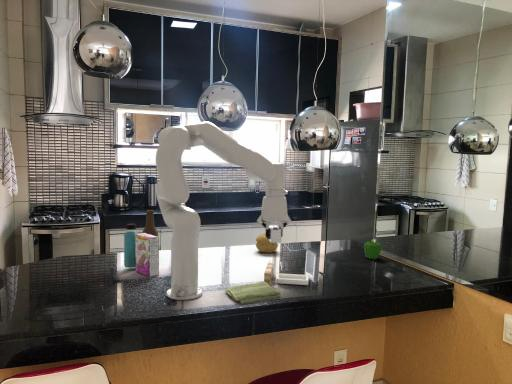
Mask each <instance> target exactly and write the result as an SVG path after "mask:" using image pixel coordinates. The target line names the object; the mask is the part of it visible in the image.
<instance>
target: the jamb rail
mask: <svg viewBox="0 0 512 384" xmlns="http://www.w3.org/2000/svg"><path fill="white" fill-rule="evenodd" d="M266 264H267V265H266V267H265V270H264V273H263V275H264V276H263V281H264V282H267V283H268V284H269V285H270V286H271V284H272V280H273V278H274V277H273V276H274V266H275V265H274V264H275V263H274V262H268V263H266Z"/></svg>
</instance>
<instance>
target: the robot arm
mask: <svg viewBox="0 0 512 384" xmlns="http://www.w3.org/2000/svg"><path fill="white" fill-rule="evenodd" d="M157 143H158V148H157V149H156V153H155V165H156V170H157V174H158V178H159V181H158V182H157V184H156V187H155V195H156V199H157V203H158V206H159V209H160V212H161V215H162V218H163V221H164V224H165V225H166V226H167V227H168V228H169V229H171V230H172V236H171V237H172V238H171V243H170V253H171V254H170V255H171V256H170V257H171V258H170V262H171V263H170V265H171V266H170V268H171V269H170V273H171V274H170V278H171V279H170V288H169V289H168V290H166V297H167V298H168V299H169V298H170V299H172V300H176V301H186V300H187V301H189V300H194V299H197V298H200V297H201V296H202V295H203V289H202V288H200V287H199V238H200V231H201V217H200V216H199V213H198V212H197V211H196V210H195V209H193V208H190V207H188V206H186V203H187V201H188V200H189V198H190V189H189V185H188V182H187V179H186V175H185V172H184V168H183V165H182V164H183V163H182V158H183V157H182V156H183V153H184V151H185V149H189V148H192V147H193V148H194V147H197V146H198V147H199V146H203V147H204V148H206V149H208V150H209V151H210V152H212V153H213V154H215V155H216V156H217V157H218V158H221V159H222V160H223V161H225V162H226V163H229V164H231V165H235V166H239V167H241V168H243V169H244V170H245V171H244V173H245V175H246V177H247V178H248V179H249V180H251V181H254V182H263V183H265V196H263V197H262V203H261V211H260V212H261V214H260V215H259V217H258V218H257V219H256V222H257V223H258V224H260V225H262V227H263V228H264V229H265V233H264V234H265V236H266V237H267V239H270V230H269V226H271V223H278V227H279V228H280V229H281V238H282V237H283V236H284V235H283V231H284V229H285V228H286V227H287V225H289V224H290V223H292V220H291V218H290V215H288V202H287V197H286V195H288V194H289V191H288V190H286V189H285V183H286V181H285V177H286V176H285V175H286V172H285V171H286V168H285V167H286V165H285V164H284V163H283V162H271V161H270V160H269V159H268V158H266V157H264V156H263V155H262V154H261V153H258V152H257V151H255V150H254V149H252V148H249V147H248V146H246V145H244V144H242V143H240V142H239V141H237V140H235V139H234V138H233V137H232V136H230V135H229V134H228V133H226V132H225V131H224V130H222V129H221V128H220V127H218V126H217V125H215V124H214V123H212V122H210V121H200V122H195V123H190V124H185V125H173V126H168V127H165V128H163V129H161V130H160V132H159V133H158V135H157Z"/></svg>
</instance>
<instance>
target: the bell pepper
mask: <svg viewBox="0 0 512 384" xmlns="http://www.w3.org/2000/svg"><path fill="white" fill-rule="evenodd" d="M363 250H364V256H365V258H367V259H370V260H377V259H378V258H379V257H380V255H381V252H382V245H381V242H380V243H379V242H376V241H375V239H371V241H366V242H364V245H363Z"/></svg>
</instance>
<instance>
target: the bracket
mask: <svg viewBox="0 0 512 384" xmlns="http://www.w3.org/2000/svg"><path fill="white" fill-rule="evenodd" d="M275 276H276V277H275V284H282V285H283V284H285V285H286V284H287V285H298V286H299V285H302V286H303V285H304V286H309V274H293V273H276V275H275Z"/></svg>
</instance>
